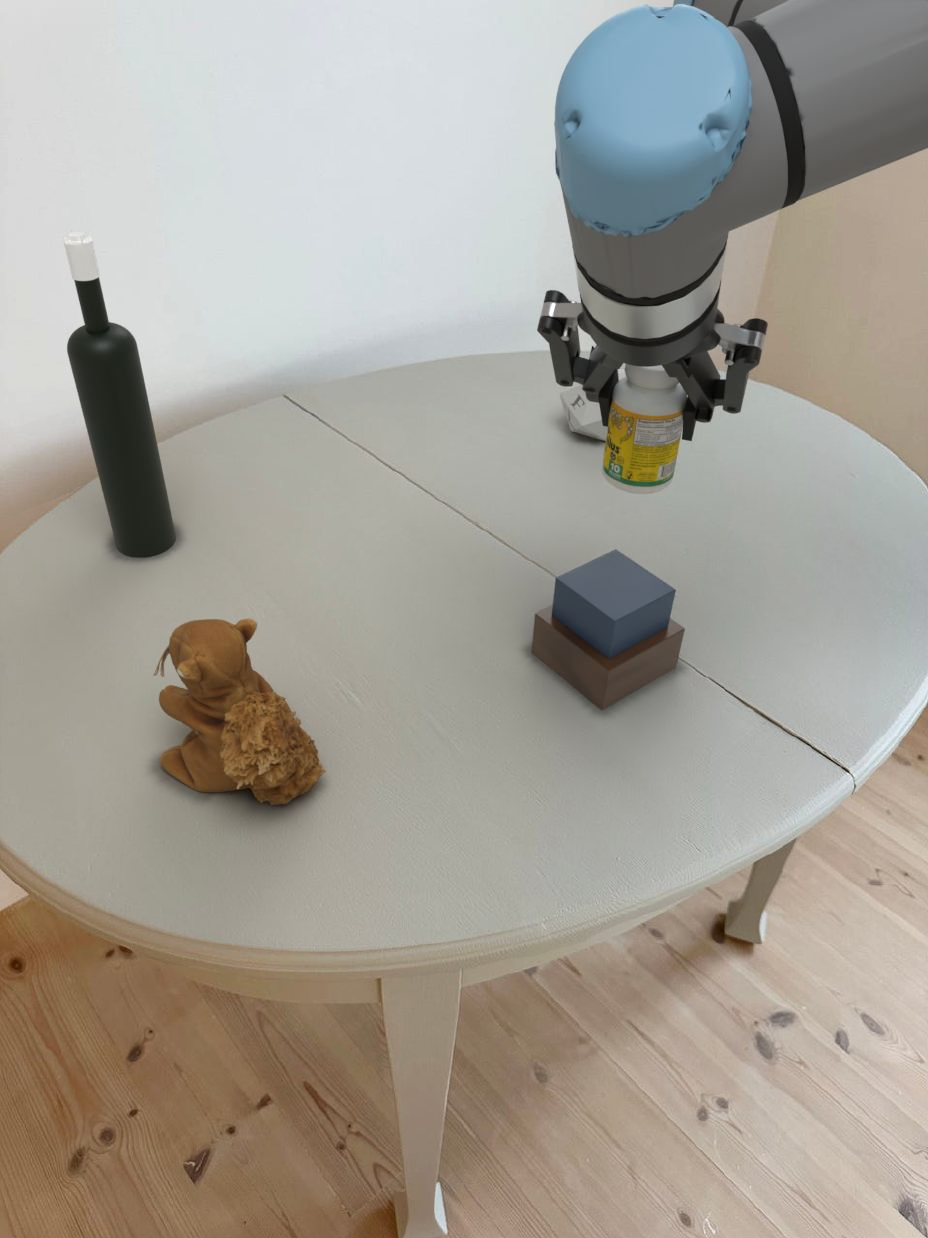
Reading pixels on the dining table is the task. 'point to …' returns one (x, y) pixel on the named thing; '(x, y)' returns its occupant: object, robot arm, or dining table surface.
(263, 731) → the stuffed squirrel
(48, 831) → the dining table surface
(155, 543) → the wine bottle
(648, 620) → the top block
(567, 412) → the die
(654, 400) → the supplement bottle
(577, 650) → the base block
